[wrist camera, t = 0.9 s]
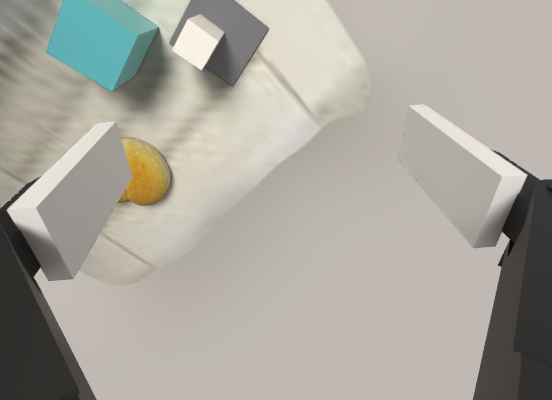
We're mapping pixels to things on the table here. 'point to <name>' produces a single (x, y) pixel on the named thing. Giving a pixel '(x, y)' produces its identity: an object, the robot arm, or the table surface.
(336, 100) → the table surface
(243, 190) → the table surface
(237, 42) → the panel
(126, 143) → the bread roll
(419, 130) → the robot arm
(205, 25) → the white rectangular block
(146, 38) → the teal toy brick
